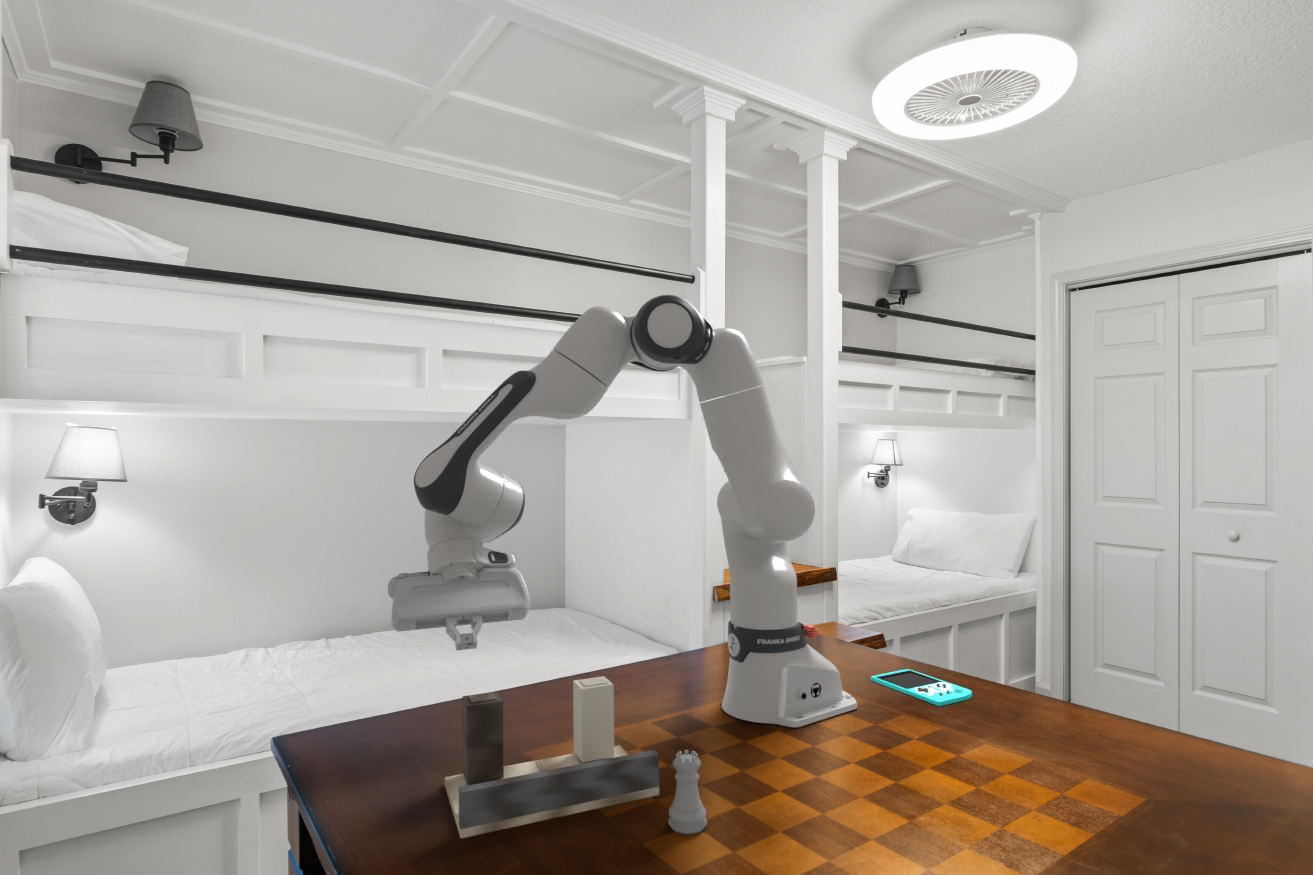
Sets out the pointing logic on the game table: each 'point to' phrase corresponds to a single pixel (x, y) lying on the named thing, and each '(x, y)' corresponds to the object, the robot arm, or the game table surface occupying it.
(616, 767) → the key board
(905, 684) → the handheld game console
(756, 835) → the game table surface
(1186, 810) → the game table surface
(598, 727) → the ivory key
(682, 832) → the rook chess piece
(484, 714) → the ebony key
